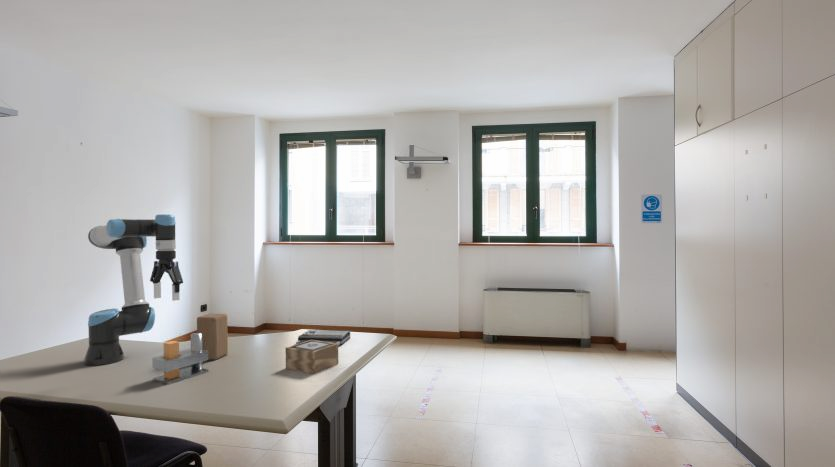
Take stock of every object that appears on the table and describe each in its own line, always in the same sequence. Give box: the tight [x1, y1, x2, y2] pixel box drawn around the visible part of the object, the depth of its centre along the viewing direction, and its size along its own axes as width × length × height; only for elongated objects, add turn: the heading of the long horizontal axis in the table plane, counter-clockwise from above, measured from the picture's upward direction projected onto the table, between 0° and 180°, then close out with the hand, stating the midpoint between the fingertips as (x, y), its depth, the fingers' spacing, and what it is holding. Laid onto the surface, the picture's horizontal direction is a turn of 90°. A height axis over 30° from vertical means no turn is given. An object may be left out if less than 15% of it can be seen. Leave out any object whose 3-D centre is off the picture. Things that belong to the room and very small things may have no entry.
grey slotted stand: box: [151, 332, 209, 385], centre depth 188 cm, size 10×18×16 cm, turn 150°
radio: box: [295, 329, 351, 347], centre depth 242 cm, size 24×5×20 cm
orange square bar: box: [163, 340, 180, 379], centre depth 184 cm, size 4×4×14 cm
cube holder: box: [285, 340, 339, 375], centre depth 200 cm, size 16×16×9 cm
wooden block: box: [196, 313, 229, 361], centre depth 215 cm, size 10×10×20 cm
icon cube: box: [296, 342, 329, 351], centre depth 197 cm, size 10×10×10 cm
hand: (166, 299), depth 196 cm, fingers open, 13 cm apart
